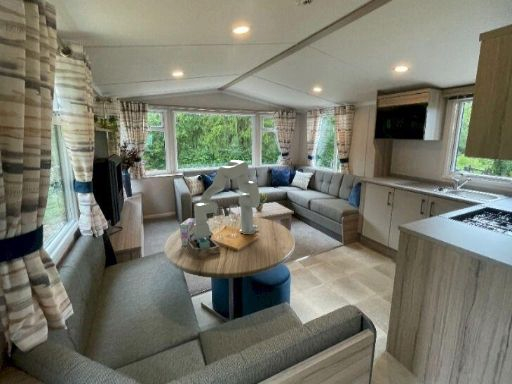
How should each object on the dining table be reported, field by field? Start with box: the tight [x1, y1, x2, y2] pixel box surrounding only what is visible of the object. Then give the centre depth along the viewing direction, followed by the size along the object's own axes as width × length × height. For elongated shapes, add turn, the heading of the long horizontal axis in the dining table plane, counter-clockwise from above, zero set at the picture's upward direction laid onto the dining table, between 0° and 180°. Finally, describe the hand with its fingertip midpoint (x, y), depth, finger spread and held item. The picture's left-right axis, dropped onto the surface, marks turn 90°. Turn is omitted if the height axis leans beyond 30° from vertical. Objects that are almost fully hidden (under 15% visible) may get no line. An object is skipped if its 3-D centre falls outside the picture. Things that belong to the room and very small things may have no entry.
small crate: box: [199, 238, 210, 250], centre depth 172 cm, size 6×10×5 cm, turn 31°
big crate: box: [187, 237, 221, 260], centre depth 173 cm, size 16×20×5 cm
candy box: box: [179, 217, 196, 247], centre depth 186 cm, size 14×6×16 cm, turn 168°
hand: (203, 246), depth 173 cm, fingers closed on small crate, 6 cm apart
